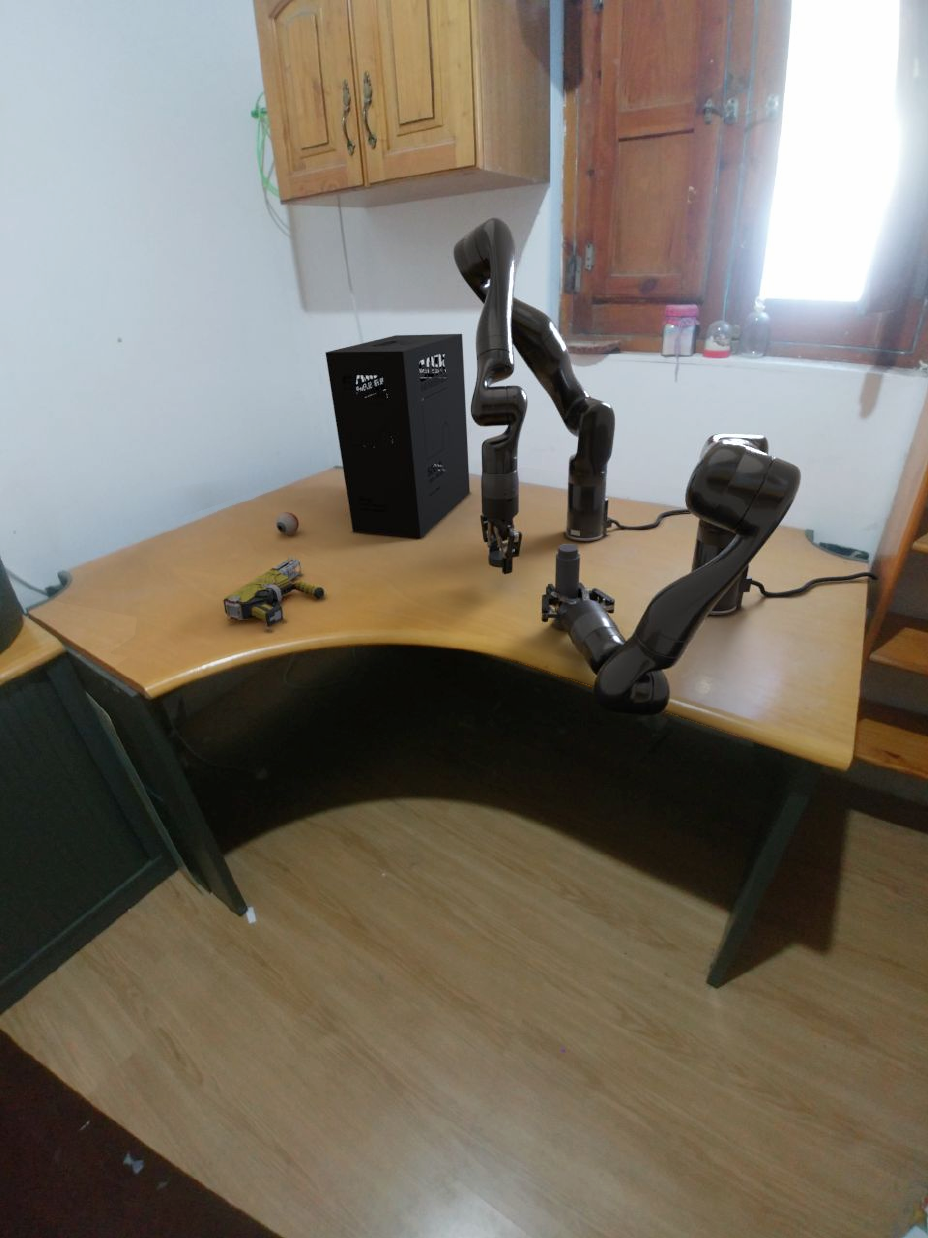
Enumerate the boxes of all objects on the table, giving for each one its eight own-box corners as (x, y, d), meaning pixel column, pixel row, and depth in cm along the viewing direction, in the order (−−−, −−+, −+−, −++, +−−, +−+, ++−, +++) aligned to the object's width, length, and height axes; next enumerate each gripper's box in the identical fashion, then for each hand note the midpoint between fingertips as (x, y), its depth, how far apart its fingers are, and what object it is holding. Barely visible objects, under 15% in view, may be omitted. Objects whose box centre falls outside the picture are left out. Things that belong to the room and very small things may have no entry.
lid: (513, 567, 127) (513, 559, 126) (489, 568, 127) (488, 560, 126) (511, 557, 131) (511, 549, 130) (488, 558, 131) (487, 550, 130)
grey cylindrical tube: (557, 617, 119) (559, 541, 111) (579, 620, 117) (583, 544, 109) (551, 627, 116) (553, 550, 108) (573, 631, 114) (577, 553, 106)
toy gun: (343, 567, 137) (286, 555, 141) (282, 613, 117) (218, 598, 121) (344, 585, 139) (288, 574, 143) (284, 634, 119) (221, 619, 123)
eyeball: (273, 537, 164) (268, 516, 161) (287, 528, 169) (282, 508, 166) (291, 539, 161) (286, 518, 158) (305, 530, 166) (301, 510, 163)
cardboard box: (410, 488, 194) (395, 335, 172) (469, 492, 188) (462, 333, 165) (352, 531, 164) (325, 352, 142) (420, 538, 158) (403, 351, 135)
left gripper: (467, 485, 125) (470, 560, 134) (501, 504, 114) (501, 585, 123) (499, 479, 128) (500, 552, 137) (534, 497, 117) (533, 576, 125)
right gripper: (635, 606, 100) (598, 564, 114) (551, 617, 98) (525, 573, 113) (631, 644, 104) (596, 599, 118) (550, 655, 102) (525, 608, 117)
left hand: (500, 567), depth 129 cm, fingers closed on lid, 5 cm apart
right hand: (562, 586), depth 115 cm, fingers closed on grey cylindrical tube, 4 cm apart
